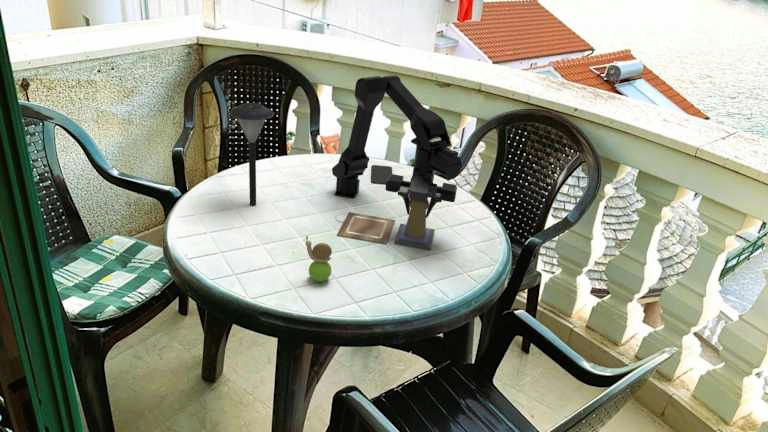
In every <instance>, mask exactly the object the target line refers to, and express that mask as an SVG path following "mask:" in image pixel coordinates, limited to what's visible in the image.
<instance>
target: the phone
mask: <svg viewBox="0 0 768 432" xmlns="http://www.w3.org/2000/svg"><path fill="white" fill-rule="evenodd" d="M370 168H371V170H370V171H371V172H370V183H371V184H374V185H381V186H382V185H383V186H384V185H385V186H386V182H387V179H388V177H389V176H390V175H391V174H393V168H392V166H389V165H377V164H372V165H371V167H370Z"/></svg>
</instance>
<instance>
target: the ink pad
mask: <svg viewBox="0 0 768 432" xmlns="http://www.w3.org/2000/svg"><path fill="white" fill-rule="evenodd" d="M406 224H407V223H400V224H399V226H398V229H397V232H396V236H395V238H394V242H393V244H394V245H397V246H403V247H409V248H414V249H420V250H427V251H431V248H432V244H433V239H434V237H435V231H436V229H434V228H430V227H429V228H428V227H426V235H425V236H424V237H423V238H411V237H409V236H407V235H406V234H405V232H404V231H405V228H406Z"/></svg>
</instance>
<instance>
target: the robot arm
mask: <svg viewBox="0 0 768 432" xmlns="http://www.w3.org/2000/svg"><path fill="white" fill-rule="evenodd" d="M354 87H355V89H354V97H355V100H356V102H357V107H356V111H355V116H354V119H353V125H352V129H351V134H350V138H349V141H348V146H347V147H346V148H345V149H344V150H343V151H342V153H341V154H340V157H339V160H338V163H336V164H335V165H334V166H333V167H332V168H331V172H332V176H333V177H336V182H335V183H336V186H335V192H334V196H337V197H338V196H339V197H345V198H350V199H355V198H356V196H357V195H358V194H359V191H360V183H361V182H360V181H361V180H360V179H359V176H363V175H364V174H365V172H366V169H368V167H369V166H368V165H369V162H370V157H369V156H368V155H367V153H366V150H365V149H366V146H367V141H368V137H369V134H370V131H371V130H370V129H371V126H372V121H373V117H374V113H375V110H376V108H377V107H378V106H379V105H380V104H381V102H383V99H384V97H385V96H386V95H387V96H388V97H389V98H390V99H391V101H392V102H394V104H395V105H396V107H397V108H398V109H399V110H400V111H401V112H402V113H403V114H404V115H405V117H406V118H407V119H408V121H409V123H410V130H411V131H412V133H413V134H414V135H415V137H414V138H413V139H411V140H410V143H412V145H413V144H414V145H416V146H415V154H414V161H413V168H412V176H411V178H410V181H408V180H404V179H405V178H404V175H400V174H399V175H398V174H395V173H392V174H391V175H390V176H389V177H388V179H387V182H386V185H385V188H384V190H385V191H387V192H392V193H397V196H400V197H401V198H402V199H403V201H404V206H405V210H406V214H407V215H408V216H409V214H410V210H411V207H410V200H411V199H412V200H421V201H427V199H428V198H430V200H429V199H428V200H429V206H428V208H427V210H426V219H427V218H428V217H429V216H430V214H431V212H432V211H433V208H434V206H436V204H437V203H442V202H443V201H444V202H448V203H455V201H456V195H457V189H458V187H457V185H456V184H453V183H447V182H443V183H442V186H441V185H438V183H434V179H435V174H436V173H435V172H437V173H439V174H440V175H443V176H444V177H446V178H448V179H454V178H456V177H457V176H458V175H459V173H460V172H461V171H462V166H463V162H462V159H461V158H460V157H459V152H458V151H456V150H453V149H451V148H449V147H451V146H452V143H451V138H450V136H449V133H448V129H447V127H446V121H445V120H444V118H442V117H441V116H440V115H438V113H436V112H435V111H433V110H430V109H428V108H427V107H424V106H423V105H422V104H421V102H420V101H419V100H418V99H417V98H416V97H415V96H414V94H412V92H411V91H410V90H409V89H408V88H407V87H406V86H405V84H404V83H403V82H402V80H401V78H400V77H399V76H397V75H393V74H392V75H386V76H385V75H384V76H380V75H376V76H369V77H368V76H366V77H360V78H358V79H357V80H356V82H355V86H354ZM385 94H386V95H385ZM437 139H440V140H437ZM433 140H435V141H433Z"/></svg>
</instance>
